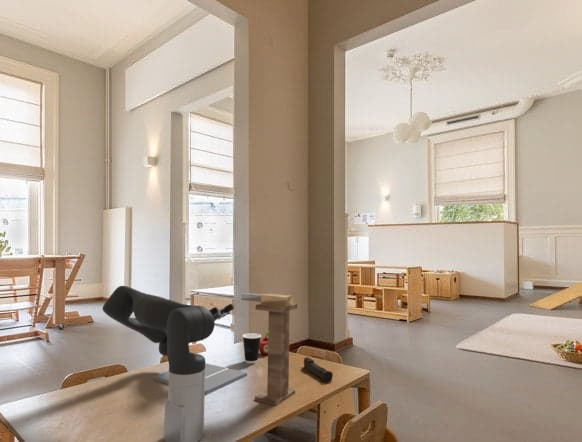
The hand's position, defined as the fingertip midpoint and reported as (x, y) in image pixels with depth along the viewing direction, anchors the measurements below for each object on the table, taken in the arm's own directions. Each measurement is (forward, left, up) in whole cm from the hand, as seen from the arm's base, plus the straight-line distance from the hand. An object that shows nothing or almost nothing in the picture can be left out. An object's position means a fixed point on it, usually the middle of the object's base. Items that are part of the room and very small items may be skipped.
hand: (225, 307), depth 142 cm
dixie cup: (+26, +7, -27) cm, 38 cm away
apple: (+39, +9, -27) cm, 48 cm away
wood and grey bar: (0, -18, +3) cm, 18 cm away
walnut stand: (0, -22, -27) cm, 35 cm away
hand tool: (+27, -23, -27) cm, 44 cm away
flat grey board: (0, +11, -27) cm, 29 cm away
